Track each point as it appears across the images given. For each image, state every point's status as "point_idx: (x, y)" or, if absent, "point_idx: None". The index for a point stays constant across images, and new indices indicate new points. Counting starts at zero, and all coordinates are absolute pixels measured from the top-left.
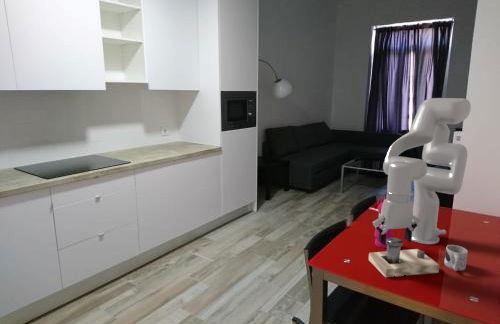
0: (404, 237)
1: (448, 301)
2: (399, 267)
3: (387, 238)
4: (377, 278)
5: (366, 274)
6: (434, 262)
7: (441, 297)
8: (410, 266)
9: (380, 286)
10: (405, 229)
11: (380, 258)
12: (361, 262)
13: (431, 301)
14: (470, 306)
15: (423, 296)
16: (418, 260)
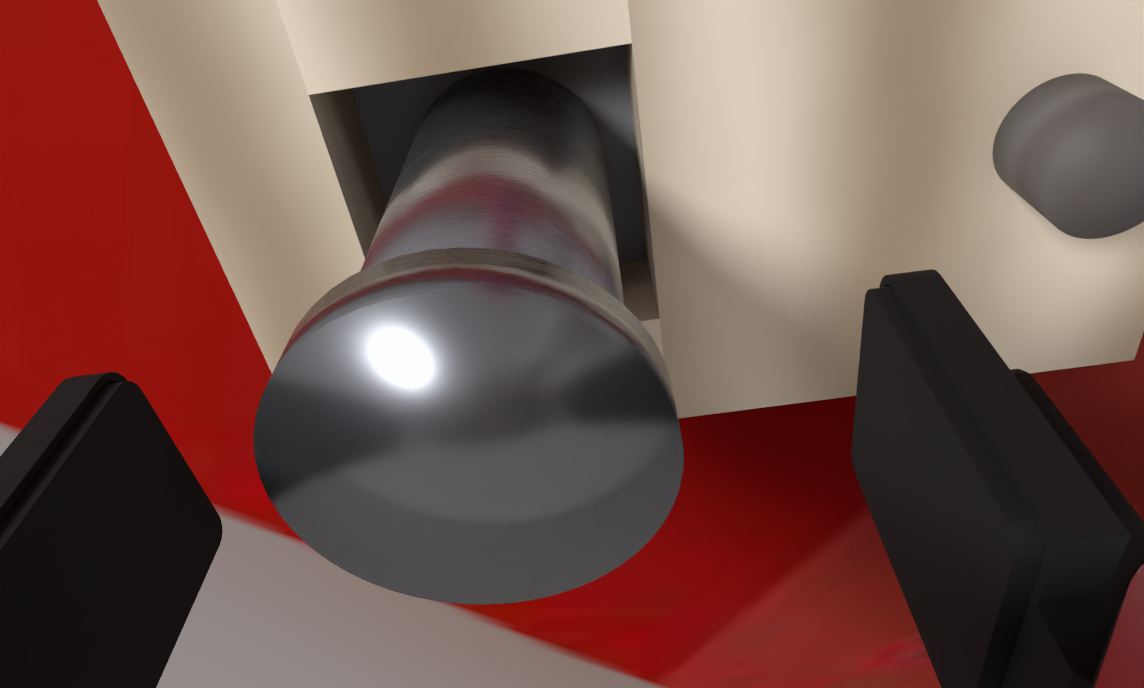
0: (882, 319)
1: (763, 652)
2: None
3: (311, 353)
4: (241, 408)
5: (109, 337)
6: (1126, 301)
7: (744, 621)
8: (683, 403)
9: (254, 520)
10: (1017, 572)
11: (289, 187)
12: (16, 13)
13: (631, 655)
14: (881, 684)
15: (601, 616)
16: (924, 246)
